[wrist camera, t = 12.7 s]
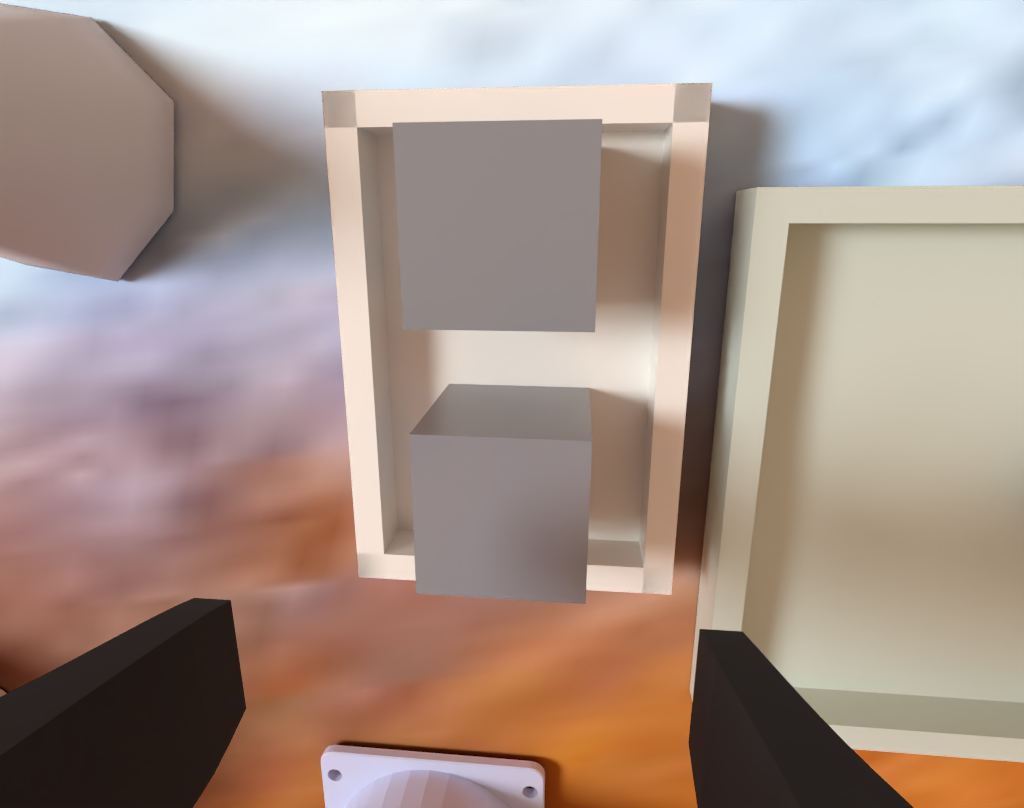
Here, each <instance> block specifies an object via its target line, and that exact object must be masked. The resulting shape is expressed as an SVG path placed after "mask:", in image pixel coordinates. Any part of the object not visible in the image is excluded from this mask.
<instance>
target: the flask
mask: <svg viewBox="0 0 1024 808" xmlns="http://www.w3.org/2000/svg"><path fill="white" fill-rule="evenodd" d="M173 211H174V101H173V100H172V99H171V98H170V97H169V96H168V95H167V94H166V93H165V92H164V91H163V90H162V89H161V88H160V87H159V86H158V85H157V84H156V83H155V82H154V81H153V80H152V79H151V78H150V77H149V76H148V75H147V74H146V73H145V72H144V71H143V70H142V69H141V68H140V67H139V66H138V65H137V64H136V63H135V62H134V60H133V59H132V58H131V57H130V56H129V55H128V54H127V53H126V52H125V51H124V50H123V49H122V48H121V47H120V46H119V45H118V44H117V43H116V42H115V41H114V40H113V39H112V38H111V37H110V36H109V35H108V34H107V33H106V32H105V31H104V30H103V29H102V28H101V27H100V26H99V25H98V24H97V23H96V22H95V21H94V20H93V19H92V18H90V17H84V16H77V15H71V14H65V13H58V12H52V11H46V10H39V9H33V8H27V7H20V6H14V5H8V4H1V3H0V257H2V258H5V259H9V260H12V261H15V262H19V263H22V264H25V265H30V266H35V267H41V268H46V269H52V270H57V271H63V272H68V273H74V274H79V275H85V276H90V277H96V278H102V279H107V280H113V281H119V279H120V278H121V277H122V276H123V274H124V273H125V272H126V271H127V269H128V268H129V267H130V266H131V264H132V263H133V262H134V260H135V259H136V258H137V257H138V255H139V254H140V253H141V252H142V250H143V249H144V248H145V247H146V245H147V244H148V243H149V242H150V240H151V239H152V238H153V236H154V235H155V234H156V233H157V231H158V230H159V229H160V228H161V226H162V225H163V224H164V223H165V221H166V220H167V219H168V218H169V216H170V215H171V214H172V212H173Z"/></svg>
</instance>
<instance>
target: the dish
mask: <svg viewBox="0 0 1024 808" xmlns="http://www.w3.org/2000/svg"><path fill="white" fill-rule="evenodd" d="M711 92H712V83H689V84H641V85H592V86H544V87H496V88H448V89H400V90H352V91H322V103H323V116H324V129H325V142H326V155H327V168H328V181H329V194H330V207H331V220H332V233H333V246H334V259H335V272H336V285H337V298H338V311H339V324H340V337H341V350H342V363H343V376H344V389H345V401H346V414H347V427H348V440H349V453H350V466H351V479H352V492H353V505H354V518H355V531H356V544H357V557H358V570H359V577H364V578H382V579H400V580H416V577H415V555H414V532H413V509H412V486H411V464H410V441H409V434H410V433H411V431H412V430H413V429H414V428H415V426H416V425H417V424H418V423H419V421H420V420H421V419H422V417H423V416H424V415H425V414H426V412H427V411H428V410H429V409H430V407H431V406H432V405H433V404H434V402H435V401H436V400H437V398H438V397H439V396H440V395H441V393H442V392H443V391H444V390H445V388H446V387H447V386H448V385H449V384H478V385H512V386H547V387H581V388H589V396H590V412H591V428H592V460H591V484H590V508H589V532H588V556H587V580H586V590H596V591H614V592H632V593H650V594H668V595H671V592H672V580H673V567H674V555H675V542H676V530H677V517H678V505H679V492H680V480H681V467H682V455H683V442H684V430H685V417H686V405H687V392H688V380H689V367H690V355H691V342H692V330H693V317H694V305H695V292H696V280H697V267H698V255H699V242H700V230H701V217H702V205H703V192H704V180H705V167H706V155H707V142H708V130H709V117H710V105H711ZM568 119H602V145H601V174H600V203H599V232H598V260H597V289H596V318H595V332H544V331H477V330H410V329H403V322H402V303H401V283H400V263H399V243H398V224H397V204H396V184H395V165H394V145H393V125H392V123H399V122H455V121H512V120H568Z"/></svg>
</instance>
